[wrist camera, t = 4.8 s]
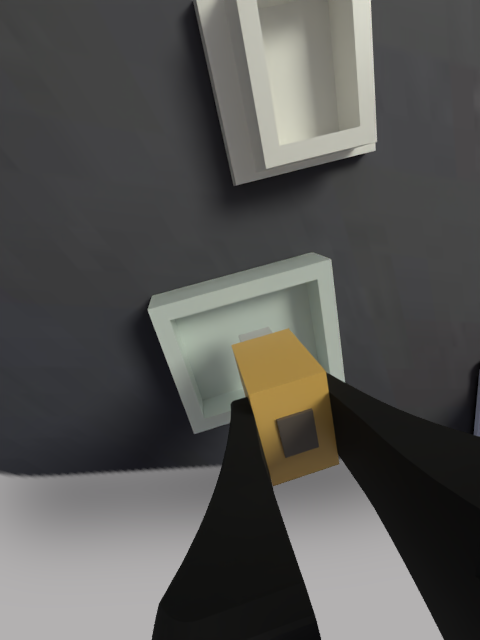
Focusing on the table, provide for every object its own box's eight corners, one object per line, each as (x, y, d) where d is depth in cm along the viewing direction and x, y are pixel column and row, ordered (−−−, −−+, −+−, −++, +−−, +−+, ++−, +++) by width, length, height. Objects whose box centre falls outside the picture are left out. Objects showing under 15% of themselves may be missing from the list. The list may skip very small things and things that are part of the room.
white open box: (366, 152, 15) (400, 143, 13) (233, 186, 15) (243, 182, 12) (355, -33, 13) (395, -88, 10) (192, 0, 12) (195, -51, 10)
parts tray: (328, 367, 20) (345, 387, 18) (193, 408, 19) (194, 433, 17) (312, 251, 17) (331, 259, 15) (152, 295, 16) (147, 309, 14)
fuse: (290, 383, 16) (340, 466, 11) (244, 397, 16) (274, 488, 11) (276, 314, 14) (327, 373, 9) (225, 328, 14) (249, 396, 9)
